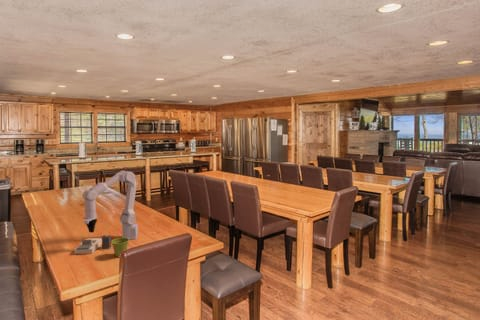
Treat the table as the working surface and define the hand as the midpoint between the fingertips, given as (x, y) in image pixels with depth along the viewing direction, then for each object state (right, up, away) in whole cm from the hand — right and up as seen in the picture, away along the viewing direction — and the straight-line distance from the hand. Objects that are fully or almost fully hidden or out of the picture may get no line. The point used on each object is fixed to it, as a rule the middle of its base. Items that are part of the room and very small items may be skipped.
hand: (91, 232), depth 186 cm
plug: (+8, -10, +1) cm, 13 cm away
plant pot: (+21, -11, -9) cm, 26 cm away
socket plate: (-2, -10, +1) cm, 10 cm away
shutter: (-2, -8, -5) cm, 9 cm away
